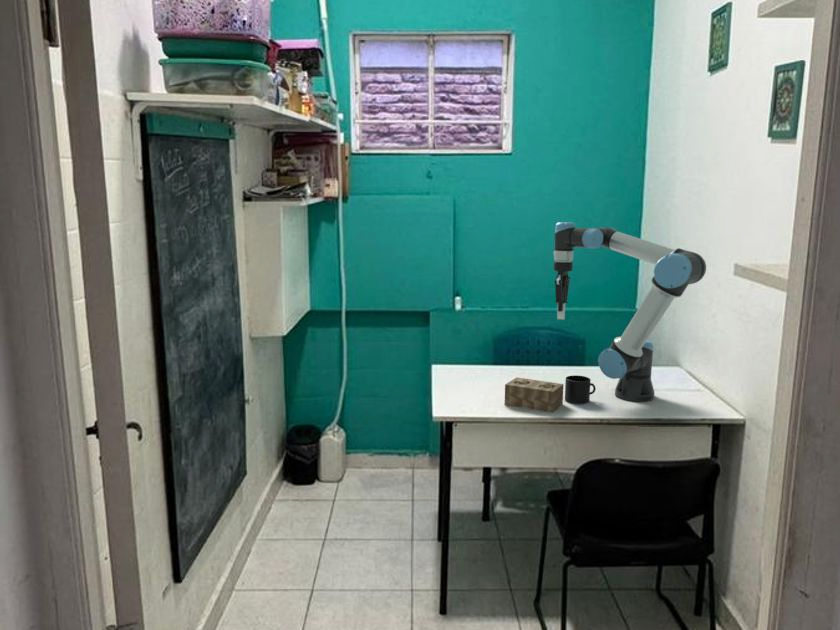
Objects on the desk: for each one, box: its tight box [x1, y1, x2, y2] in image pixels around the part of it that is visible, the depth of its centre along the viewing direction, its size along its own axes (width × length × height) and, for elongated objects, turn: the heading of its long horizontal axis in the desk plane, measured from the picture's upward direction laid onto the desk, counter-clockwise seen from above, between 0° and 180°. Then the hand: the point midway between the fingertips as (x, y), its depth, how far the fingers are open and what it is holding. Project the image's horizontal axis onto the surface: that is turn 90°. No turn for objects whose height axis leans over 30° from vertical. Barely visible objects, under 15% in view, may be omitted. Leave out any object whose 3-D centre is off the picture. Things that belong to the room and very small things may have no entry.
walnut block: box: [504, 376, 564, 413], centre depth 265 cm, size 19×12×8 cm, turn 61°
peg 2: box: [542, 383, 552, 389], centre depth 263 cm, size 4×4×8 cm
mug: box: [564, 374, 596, 405], centre depth 271 cm, size 9×12×9 cm
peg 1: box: [517, 380, 527, 385], centre depth 268 cm, size 4×4×8 cm
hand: (560, 318), depth 283 cm, fingers closed
